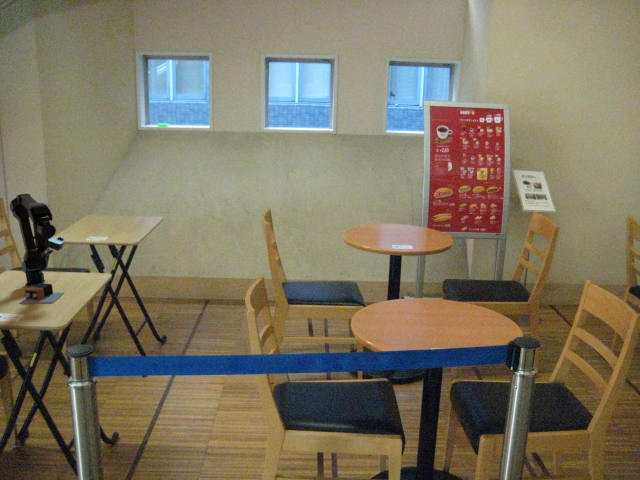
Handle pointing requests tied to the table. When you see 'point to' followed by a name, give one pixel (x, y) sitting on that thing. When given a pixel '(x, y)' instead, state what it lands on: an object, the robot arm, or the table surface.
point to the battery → (38, 291)
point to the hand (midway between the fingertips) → (45, 267)
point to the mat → (43, 299)
